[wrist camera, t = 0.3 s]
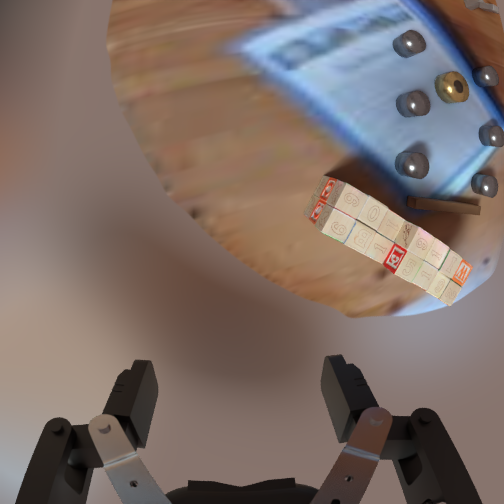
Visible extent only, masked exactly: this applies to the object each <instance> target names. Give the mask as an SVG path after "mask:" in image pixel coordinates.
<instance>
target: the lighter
mask: <svg viewBox="0 0 504 504" xmlns="http://www.w3.org/2000/svg"><path fill="white" fill-rule="evenodd" d="M464 2H465V5H466V7H467V8H468V9H470V10H473V9H476V8H478V7H479V8H481V9H483V10H484V11H489V12H493V13H497V14H499V8H498V7H497V6H495V5H493V4H488V3H484V1H483V0H464Z"/></svg>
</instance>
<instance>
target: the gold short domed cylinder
mask: <svg viewBox="0 0 504 504" xmlns="http://www.w3.org/2000/svg"><path fill="white" fill-rule="evenodd" d="M435 89H436V92H437V94H438V96H439V97H440V99H441V100H442V101H444V102H445V103H457V102H464V101H466V100H467V99H468V96H469V88H468V84H467V82H466V80H465V79H464V77H463V76H462V75H461V74H459V73H458V72H449V73H446V74H442V75H439V76H437V77H436V79H435Z"/></svg>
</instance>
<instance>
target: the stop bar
mask: <svg viewBox="0 0 504 504" xmlns="http://www.w3.org/2000/svg"><path fill="white" fill-rule="evenodd" d="M407 206H409V207H412V208H414V209H423V210H434V211H445V212H455V213H464V214H473V215H480V209H481V207H480V206H477V205H474V204H470V203H463V202H456V201H448V200H440V199H432V198H423V197H413V196H408V199H407Z"/></svg>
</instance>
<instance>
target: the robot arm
mask: <svg viewBox="0 0 504 504" xmlns="http://www.w3.org/2000/svg"><path fill="white" fill-rule="evenodd" d="M321 390H322V394H323V397H324V399H325V402H326V405H327V408H328V411H329V414H330V417H331V420H332V423H333V426H334V429H335V432H336V435H337V439H338V441H339V443H344V442H347V444H346V446H345V447H344V448H343V450H342V452H341V453H340V455H339V457H338V459H337V461H336V462H335V464H334V466H333V468H332V469H331V471H330V473H329V474H328V476H327V478H326V479H325V481H324V483H323V484H322V486H321V487H320V489H319V490H318V489H316V488H314V487H311V486H307V485H302V484H295V478H285V479H274V480H267V481H263V482H259V483H256V484H252V485H248V486H243V487H239V486H233V485H228V484H223V483H218V482H214V481H191V480H188V487H182V488H178V489H175V490H173V491H170V492H168V493H167V494H164V493H163V491H162V490H161V489H160V487H159V486H158V484H157V483H156V481H155V480H154V479H153V477H152V476H151V474H150V473H149V471H148V470H147V468H146V467H145V465H144V464H143V462H142V461H141V459H140V457H139V456H138V454H137V453H136V450H137V448H145V446H146V441H147V437H148V433H149V429H150V425H151V421H152V416H153V413H154V409H155V405H156V401H157V397H158V383H157V380H156V376H155V372H154V368H153V364H152V362H151V361H150V360H135V361H134V363H133V365H132V367H131V370H127V369H126V370H124V371H123V372H122V373H121V374H120V375H119V376H118V377H117V380H116V382H115V385H114V387H113V389H112V392H111V394H110V396H109V398H108V401H107V403H106V406H105V408H104V410H103V413H102V415H99V416H96V417H94V418H93V419H92V420H91V421H90V423H89V424H85V425H73V426H71V424H70V422H69V421H68V420H66V419H64V418H60V417H59V418H53V419H51V420H50V421H48V422H47V423H46V425H45V427H44V429H43V431H42V434H41V436H40V438H39V441H38V443H37V446H36V448H35V450H34V453H33V455H32V458H31V460H30V463H29V466H28V468H27V471H26V473H25V476H24V479H23V482H22V485H21V488H20V490H19V493H18V496H17V499H16V503H15V504H86V500H87V495H88V491H89V486H90V482H91V477H92V474H93V470H94V468H100V467H104V469H105V471H106V473H107V475H108V477H109V479H110V481H111V483H112V485H113V487H114V489H115V490H116V492H117V494H118V496H119V497H120V499H121V501H122V503H123V504H359V503H360V501H361V499H362V497H363V495H364V493H365V491H366V489H367V487H368V485H369V482H370V480H371V478H372V476H373V473H374V471H375V469H376V467H377V464H378V462H379V459H382V460H383V459H386V460H387V459H388V460H392V461H393V464H394V466H395V469H396V472H397V475H398V478H399V480H400V484H401V486H402V489H403V493H404V496H405V499H406V502H407V504H482V502H481V499H480V497H479V495H478V493H477V491H476V489H475V486H474V484H473V482H472V480H471V478H470V476H469V474H468V471H467V469H466V468H465V465H464V463H463V461H462V459H461V458H460V455H459V454H458V452H457V450H456V448H455V446H454V444H453V442H452V440H451V438H450V436H449V435H448V433H447V431H446V429H445V427H444V425H443V424H442V422H441V420H440V418H439V416H438V415H437V413H436V412H434V411H433V410H431V409H428V408H419V409H416V410H415V411H414V412H413V413H412V414H411V416H392V415H391V414H390V413H389V411H387V410H386V409H384V408H380V407H379V405H378V404H377V401H376V399H375V398H374V396H373V394H372V392H371V390H370V388H369V386H368V385H367V382H366V380H365V379H364V376H363V374H362V372H361V371H360V369H359V368H357V367H356V366H355V365H354V364H346V362H345V360H344V358H343V356H342V355H341V354H340V355H331V356H326V357H325V360H324V365H323V371H322V377H321Z"/></svg>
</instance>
